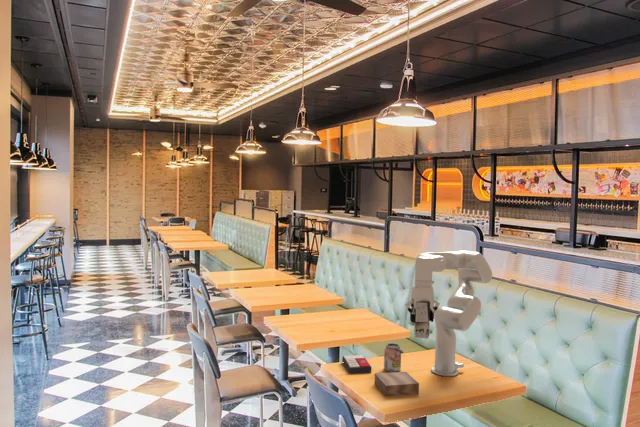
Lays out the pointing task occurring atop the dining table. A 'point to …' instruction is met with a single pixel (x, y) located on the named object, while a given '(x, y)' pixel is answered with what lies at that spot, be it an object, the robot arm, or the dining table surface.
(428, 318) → the coffee box
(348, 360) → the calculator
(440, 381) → the dining table surface
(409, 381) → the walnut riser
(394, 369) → the beverage can
